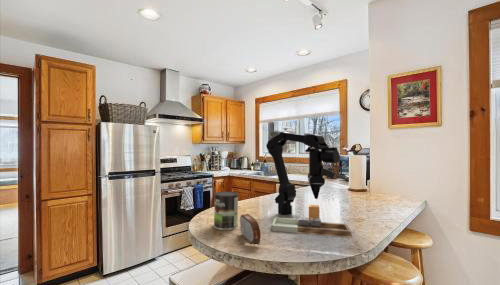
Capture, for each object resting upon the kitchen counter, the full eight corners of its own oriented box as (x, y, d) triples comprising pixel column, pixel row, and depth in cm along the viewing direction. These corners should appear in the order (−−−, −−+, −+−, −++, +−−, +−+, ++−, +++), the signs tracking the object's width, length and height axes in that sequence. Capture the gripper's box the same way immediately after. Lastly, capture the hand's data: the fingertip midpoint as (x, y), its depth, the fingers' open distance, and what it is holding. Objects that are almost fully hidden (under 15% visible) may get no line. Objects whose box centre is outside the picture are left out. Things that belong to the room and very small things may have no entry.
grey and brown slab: (261, 247, 80) (261, 222, 80) (252, 248, 79) (252, 223, 79) (246, 232, 94) (246, 211, 94) (238, 233, 93) (238, 211, 93)
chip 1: (298, 229, 95) (298, 219, 95) (298, 226, 99) (298, 216, 99) (308, 230, 94) (308, 220, 95) (308, 227, 98) (308, 217, 98)
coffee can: (224, 232, 94) (225, 196, 94) (209, 226, 101) (209, 193, 101) (243, 226, 101) (243, 193, 102) (227, 221, 108) (227, 190, 109)
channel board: (296, 234, 92) (296, 228, 92) (297, 225, 103) (297, 219, 103) (352, 239, 87) (352, 232, 87) (346, 229, 99) (346, 223, 99)
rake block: (308, 225, 104) (308, 206, 104) (308, 221, 108) (308, 204, 109) (319, 225, 103) (319, 207, 103) (318, 222, 107) (318, 205, 108)
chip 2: (310, 230, 94) (310, 220, 94) (310, 227, 98) (310, 217, 98) (321, 231, 93) (320, 221, 94) (320, 228, 97) (320, 218, 97)
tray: (271, 232, 94) (271, 225, 94) (274, 223, 105) (274, 217, 105) (297, 234, 92) (297, 227, 92) (298, 225, 103) (298, 218, 103)
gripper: (337, 164, 96) (337, 202, 96) (331, 161, 114) (331, 193, 114) (309, 163, 98) (309, 200, 98) (307, 160, 117) (307, 192, 116)
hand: (315, 196), depth 106 cm, fingers open, 9 cm apart
